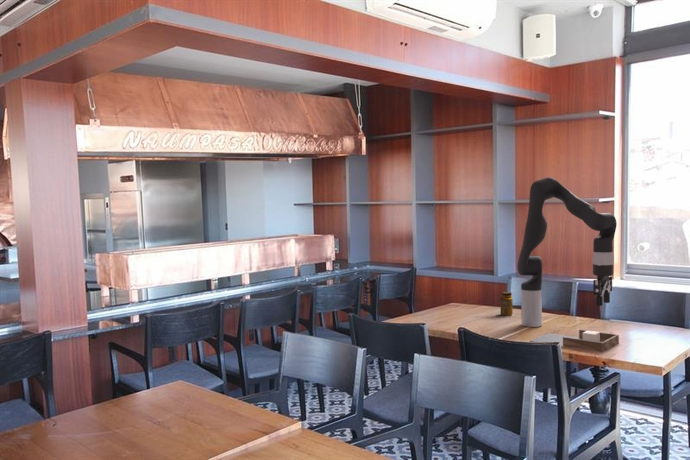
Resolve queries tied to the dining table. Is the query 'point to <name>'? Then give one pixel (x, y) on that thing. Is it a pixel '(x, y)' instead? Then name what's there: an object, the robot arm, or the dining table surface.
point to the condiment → (506, 304)
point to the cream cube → (591, 336)
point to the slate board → (556, 339)
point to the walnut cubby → (592, 342)
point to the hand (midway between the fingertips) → (603, 304)
